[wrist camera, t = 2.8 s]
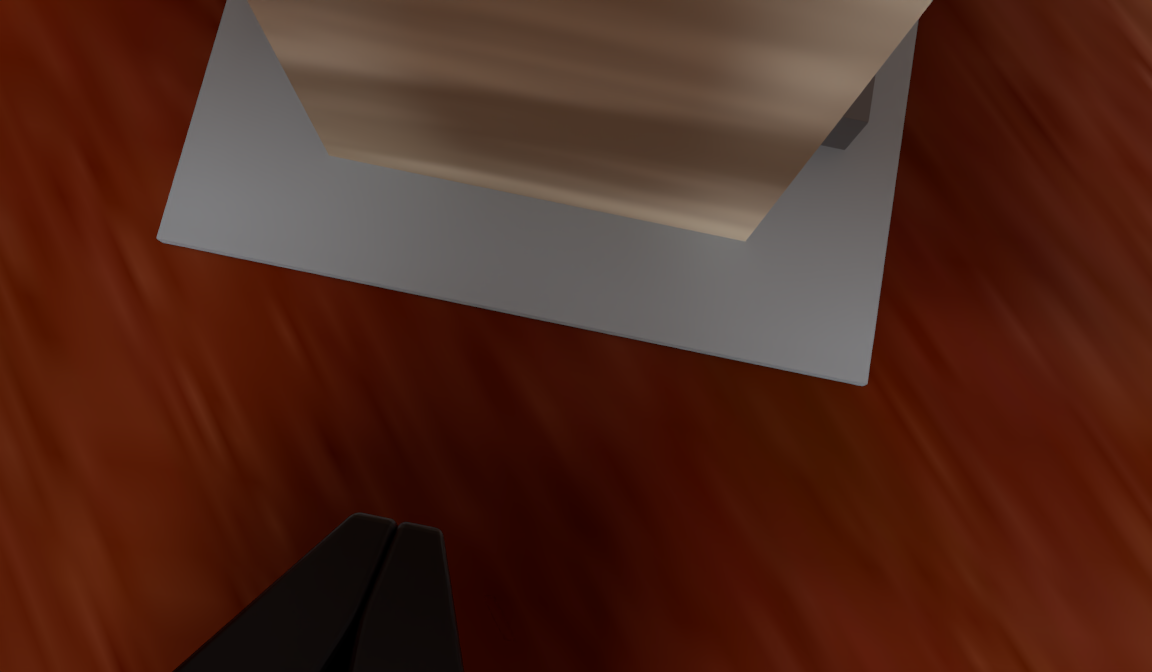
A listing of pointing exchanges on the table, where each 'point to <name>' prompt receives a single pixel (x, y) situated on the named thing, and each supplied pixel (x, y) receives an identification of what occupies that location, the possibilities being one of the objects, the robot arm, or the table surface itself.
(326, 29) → the t block
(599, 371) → the table surface
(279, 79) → the t bay
